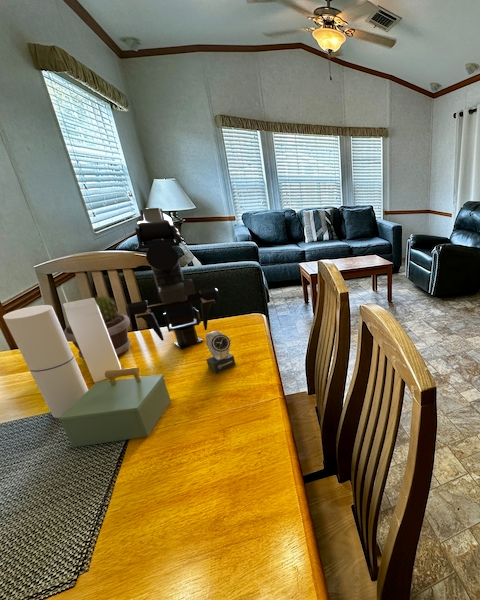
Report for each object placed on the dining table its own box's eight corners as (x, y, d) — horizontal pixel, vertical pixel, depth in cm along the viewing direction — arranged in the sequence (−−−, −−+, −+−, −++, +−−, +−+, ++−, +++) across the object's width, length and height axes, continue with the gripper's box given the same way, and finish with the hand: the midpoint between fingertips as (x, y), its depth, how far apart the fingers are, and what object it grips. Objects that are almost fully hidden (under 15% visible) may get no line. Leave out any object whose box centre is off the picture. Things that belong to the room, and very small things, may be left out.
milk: (122, 374, 90) (95, 300, 82) (93, 383, 87) (61, 307, 78) (120, 365, 95) (94, 294, 86) (93, 373, 91) (62, 300, 83)
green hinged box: (107, 409, 77) (97, 385, 74) (171, 401, 80) (163, 377, 77) (72, 447, 66) (59, 421, 64) (148, 436, 69) (138, 410, 67)
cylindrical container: (68, 419, 74) (20, 320, 65) (43, 415, 75) (-7, 317, 66) (100, 399, 80) (61, 306, 71) (77, 396, 82) (36, 303, 72)
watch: (219, 376, 89) (210, 341, 85) (205, 366, 94) (196, 332, 89) (239, 367, 93) (231, 332, 89) (225, 358, 98) (217, 325, 94)
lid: (98, 384, 75) (91, 368, 73) (164, 376, 78) (159, 361, 76) (59, 421, 64) (50, 403, 62) (138, 410, 67) (131, 393, 65)
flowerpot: (63, 372, 92) (33, 306, 84) (94, 345, 105) (70, 287, 98) (124, 363, 95) (101, 300, 88) (146, 339, 109) (127, 282, 102)
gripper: (112, 278, 68) (134, 350, 69) (213, 264, 78) (229, 327, 80) (121, 281, 77) (139, 344, 79) (210, 268, 87) (224, 324, 89)
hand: (185, 335), depth 81 cm, fingers open, 9 cm apart
